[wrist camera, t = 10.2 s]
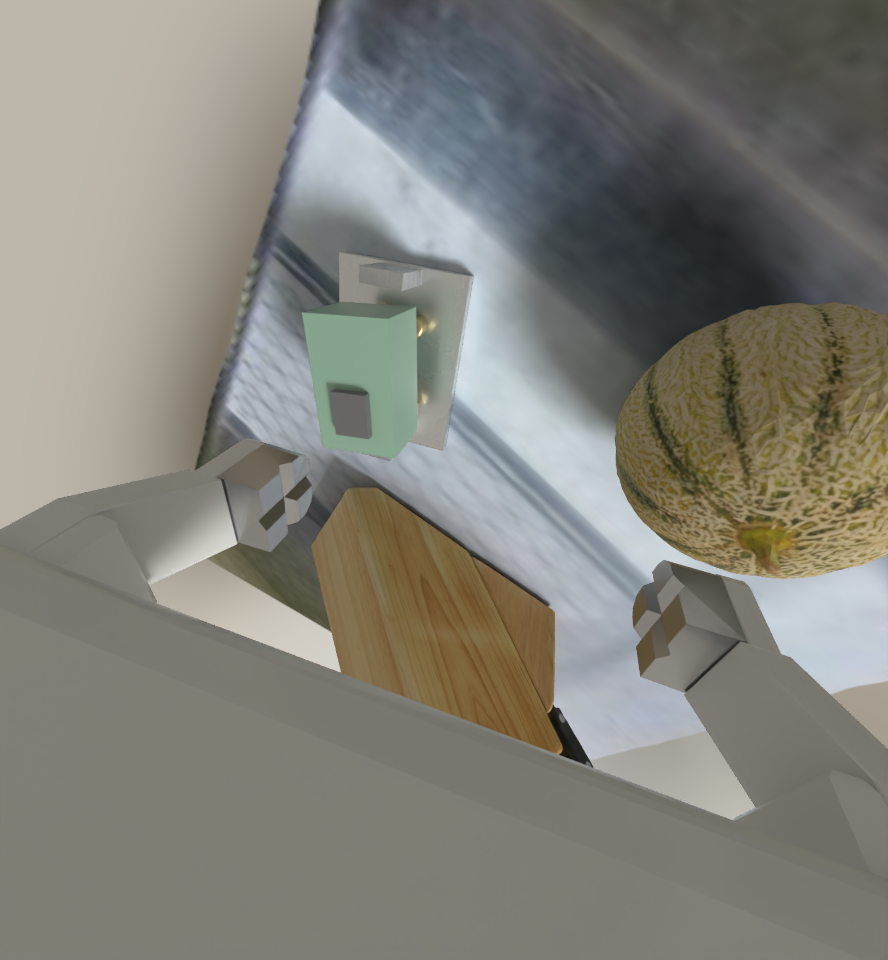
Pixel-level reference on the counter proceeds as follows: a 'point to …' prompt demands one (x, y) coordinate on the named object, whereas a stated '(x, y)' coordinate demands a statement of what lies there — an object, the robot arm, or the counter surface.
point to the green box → (364, 375)
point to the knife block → (438, 623)
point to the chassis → (418, 328)
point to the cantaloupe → (765, 441)
